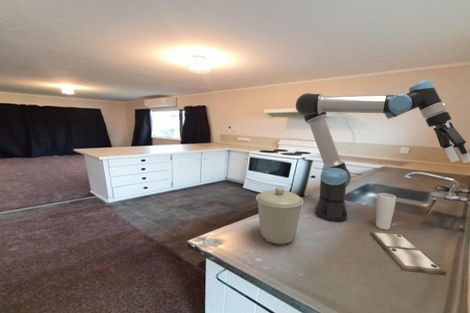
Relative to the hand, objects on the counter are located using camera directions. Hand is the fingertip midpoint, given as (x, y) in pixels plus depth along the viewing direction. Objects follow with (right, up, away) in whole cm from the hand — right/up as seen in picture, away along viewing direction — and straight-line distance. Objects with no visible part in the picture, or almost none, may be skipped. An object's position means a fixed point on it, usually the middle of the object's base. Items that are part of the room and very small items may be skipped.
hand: (461, 161), depth 88 cm
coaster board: (-32, -32, -10) cm, 46 cm away
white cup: (-26, -30, +9) cm, 41 cm away
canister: (-75, -31, -1) cm, 81 cm away
